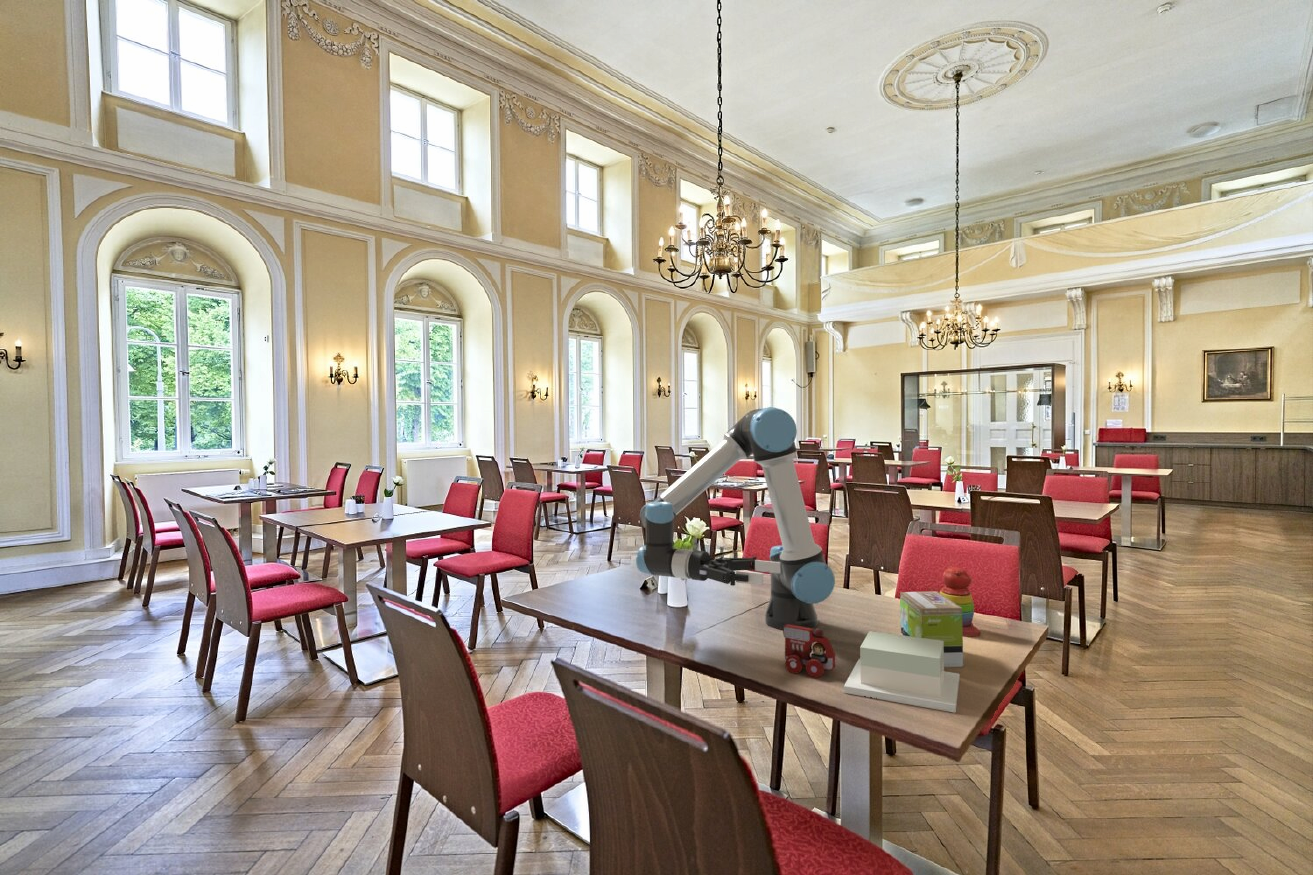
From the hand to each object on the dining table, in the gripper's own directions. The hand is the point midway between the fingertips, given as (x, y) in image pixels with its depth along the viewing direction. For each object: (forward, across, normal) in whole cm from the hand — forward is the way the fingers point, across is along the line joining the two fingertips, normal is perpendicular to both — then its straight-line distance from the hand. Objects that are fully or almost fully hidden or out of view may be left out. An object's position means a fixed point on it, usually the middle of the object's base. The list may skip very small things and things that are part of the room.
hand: (771, 573), depth 152 cm
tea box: (+34, -23, -22) cm, 46 cm away
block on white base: (+30, -1, -22) cm, 37 cm away
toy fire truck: (+9, -1, -23) cm, 24 cm away
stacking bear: (+39, -48, -22) cm, 65 cm away
